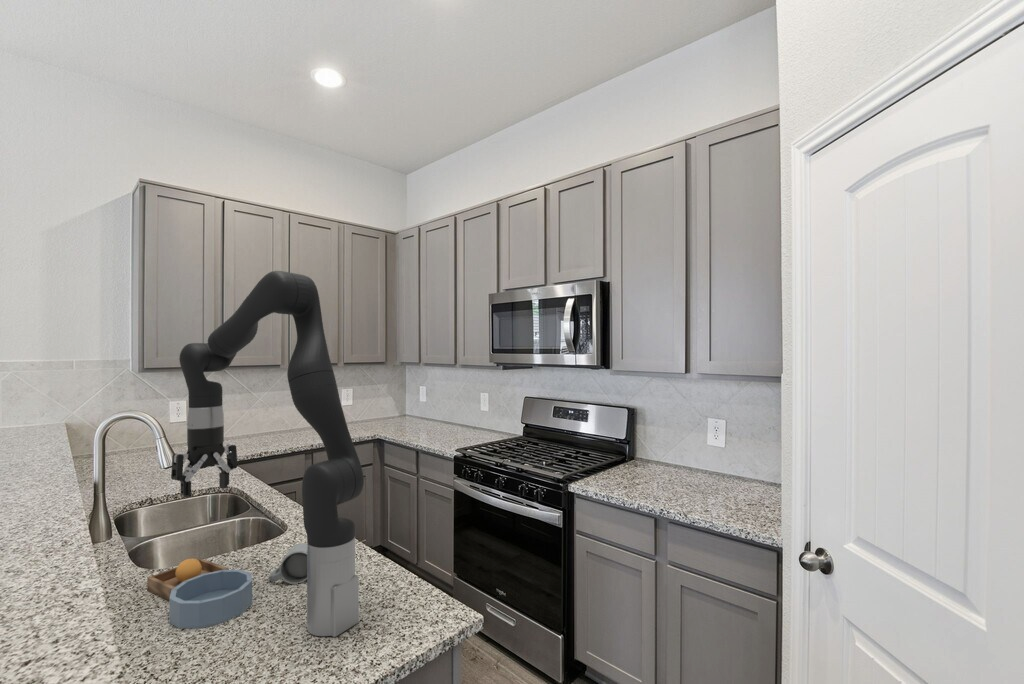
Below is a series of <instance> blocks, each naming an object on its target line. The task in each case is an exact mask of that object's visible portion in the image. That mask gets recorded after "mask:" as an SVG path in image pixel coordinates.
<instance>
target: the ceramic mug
mask: <svg viewBox="0 0 1024 684" xmlns="http://www.w3.org/2000/svg"><path fill="white" fill-rule="evenodd" d="M268 579H269V581H270V582H271V583H275V582H277V581H279V580H283V581H284V582H285V583H287V584H291V585H298V583H300V584H302V583H304V582H307V542H301V543H298V544H295V545H294V546H293V547H292V546H291V548H290V549H289V550H288V551H287V553H286V555H285V556H284V558H283V559H282V560H281V562H280V565H279V566H278V567H277V568H275V569H273V570H272V571H271V572H270V573H269V574H268Z"/></svg>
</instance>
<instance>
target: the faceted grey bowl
mask: <svg viewBox="0 0 1024 684" xmlns="http://www.w3.org/2000/svg"><path fill="white" fill-rule="evenodd" d="M168 602H169V603H168V604H169V605H168V606H169V608H168V611H169V613H168V614H169V617H168V619H169V621H168V622H169V624H171V625H173V626H174V627H176V628H178V629H202V628H207V627H210V626H215V625H218V624H222V623H225V622H227V621H229V620H231V619H234V618H236V617H237V616H239V615H241V614H243V613H245V611H246V610H247V609H248V608H249V607H250V606H251V605H252V604H253V575H252V573H251V572H249V571H247V570H246V571H245V570H243V569H229V570H220V571H215V572H210V573H205V574H201V575H199V576H196V577H194V578H191V579H188V580H186V581H184V582H182V583H181V584H179V585H178V586H177V587H175V588H174V589H172V590H171V594H170V598H169V601H168Z"/></svg>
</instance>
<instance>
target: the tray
mask: <svg viewBox="0 0 1024 684" xmlns="http://www.w3.org/2000/svg"><path fill="white" fill-rule="evenodd" d="M197 560H198V561H199V562H200V563H201V566H202V570H201V573H200V575H201V574H205V573H210V572H215V571H220V570H230V569H229V568H228V567H225V566H223V565H220V564H217V563H215V562H212V561H209V560H207V559H205V558H198V559H197ZM177 567H178V566H177ZM177 567H174V568H170V569H168V570H165V571H162V572H159V573H157V574H154V575H152V576H151V575H150V576H148V577H147V579H146V581H147V583H146V584H147V585H146V590H147V592H149V593H151V594H153V595H156V596H158V597H159V598H162V599H164V600H166V601H168V602H169V598H170V594H171V590H172V589H174V588H175V587H177V586H178V585H179V584H181V583H182V582H180V581H179V580H178V579H177V578H176V575H175V572H176V569H177Z"/></svg>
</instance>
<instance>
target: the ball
mask: <svg viewBox="0 0 1024 684" xmlns="http://www.w3.org/2000/svg"><path fill="white" fill-rule="evenodd" d="M201 570H202V566H201V563H200V562H199V561H198V559H196V558H186V559H184V560H183V561H181V562H180V563H179V564H178V565H177V569H176V572H175V575H176V578H177V579H178V580H179V581H180V582H184V581H186V580H188V579H191V578H194V577H196V576H199V575H200V573H201Z"/></svg>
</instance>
